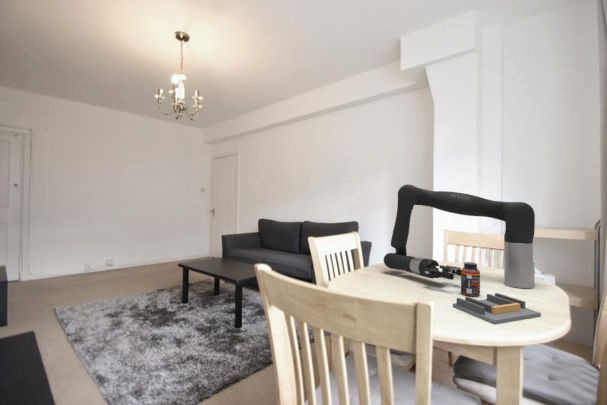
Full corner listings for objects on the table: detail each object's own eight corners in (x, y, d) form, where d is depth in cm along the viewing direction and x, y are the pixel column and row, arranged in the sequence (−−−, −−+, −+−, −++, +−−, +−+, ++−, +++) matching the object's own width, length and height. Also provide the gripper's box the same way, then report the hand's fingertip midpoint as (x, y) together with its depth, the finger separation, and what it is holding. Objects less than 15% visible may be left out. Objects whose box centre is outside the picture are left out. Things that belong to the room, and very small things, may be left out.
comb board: (495, 300, 97) (495, 292, 97) (540, 316, 84) (540, 305, 84) (452, 306, 92) (452, 297, 92) (494, 324, 78) (494, 313, 78)
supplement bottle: (473, 298, 100) (473, 265, 100) (457, 293, 105) (457, 262, 105) (483, 295, 103) (483, 263, 103) (467, 291, 108) (467, 260, 108)
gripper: (412, 259, 118) (448, 267, 104) (435, 256, 125) (472, 263, 111) (412, 278, 118) (448, 288, 104) (435, 274, 125) (472, 283, 111)
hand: (460, 275), depth 107 cm, fingers open, 8 cm apart
